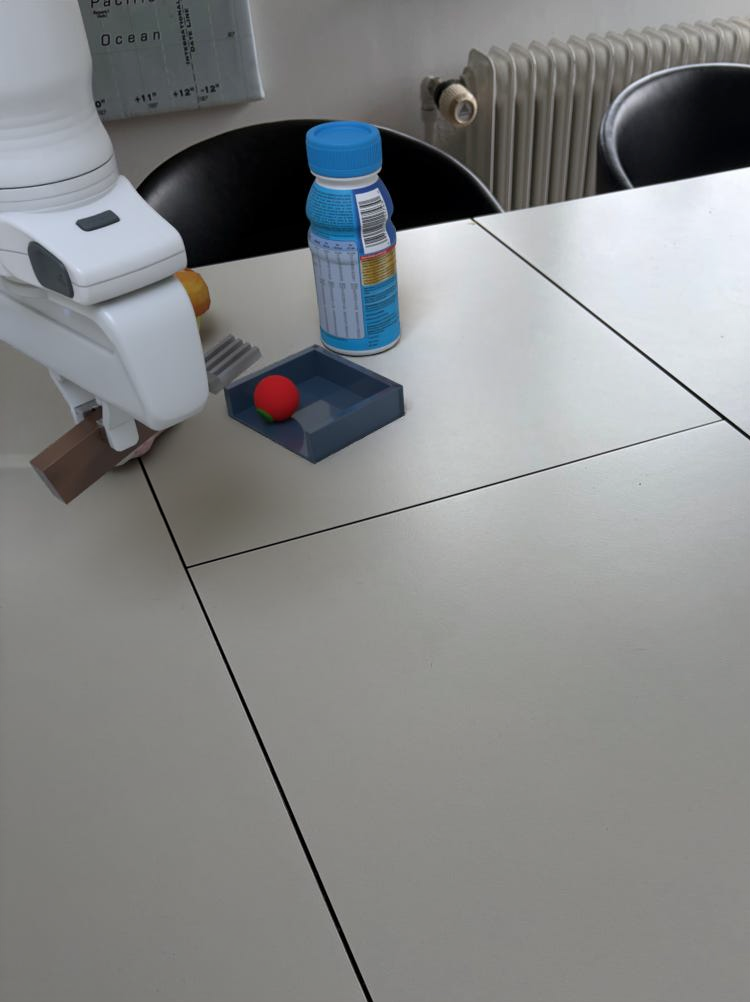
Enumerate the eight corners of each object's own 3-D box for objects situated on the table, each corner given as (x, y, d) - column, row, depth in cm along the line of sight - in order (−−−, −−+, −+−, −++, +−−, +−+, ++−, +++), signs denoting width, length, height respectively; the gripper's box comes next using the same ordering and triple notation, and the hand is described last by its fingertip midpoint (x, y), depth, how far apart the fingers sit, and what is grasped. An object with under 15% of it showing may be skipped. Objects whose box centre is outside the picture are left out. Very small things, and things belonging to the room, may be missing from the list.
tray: (228, 415, 96) (222, 386, 94) (318, 372, 101) (315, 343, 99) (314, 463, 90) (310, 433, 88) (405, 414, 96) (403, 385, 93)
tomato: (310, 399, 95) (286, 435, 95) (273, 376, 96) (249, 412, 95) (304, 383, 92) (279, 421, 91) (266, 359, 92) (241, 397, 91)
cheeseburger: (115, 317, 110) (116, 225, 104) (216, 341, 112) (223, 251, 105) (85, 361, 103) (84, 265, 96) (194, 386, 104) (200, 293, 98)
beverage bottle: (316, 359, 103) (290, 147, 90) (323, 321, 110) (299, 117, 96) (401, 358, 104) (388, 145, 90) (403, 319, 110) (391, 115, 96)
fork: (73, 510, 65) (49, 476, 62) (46, 490, 66) (21, 456, 64) (263, 356, 70) (247, 320, 68) (233, 342, 72) (217, 306, 70)
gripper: (-101, 188, 60) (-20, 400, 70) (96, 285, 50) (160, 519, 59) (-1, 159, 64) (63, 366, 73) (203, 245, 53) (247, 473, 63)
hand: (108, 436), depth 66 cm, fingers closed on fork
